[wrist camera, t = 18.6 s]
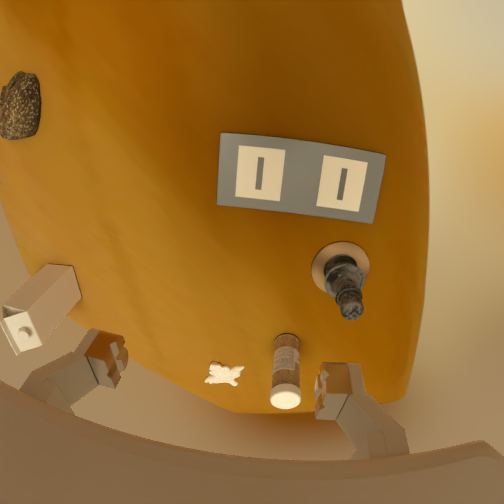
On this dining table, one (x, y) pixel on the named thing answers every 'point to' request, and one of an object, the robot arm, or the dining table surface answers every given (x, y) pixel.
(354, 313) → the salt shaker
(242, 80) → the dining table surface
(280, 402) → the sprinkles bottle
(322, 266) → the coaster
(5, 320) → the milk carton
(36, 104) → the bread roll
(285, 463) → the robot arm
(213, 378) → the acanthus leaf ornament
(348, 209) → the label board
